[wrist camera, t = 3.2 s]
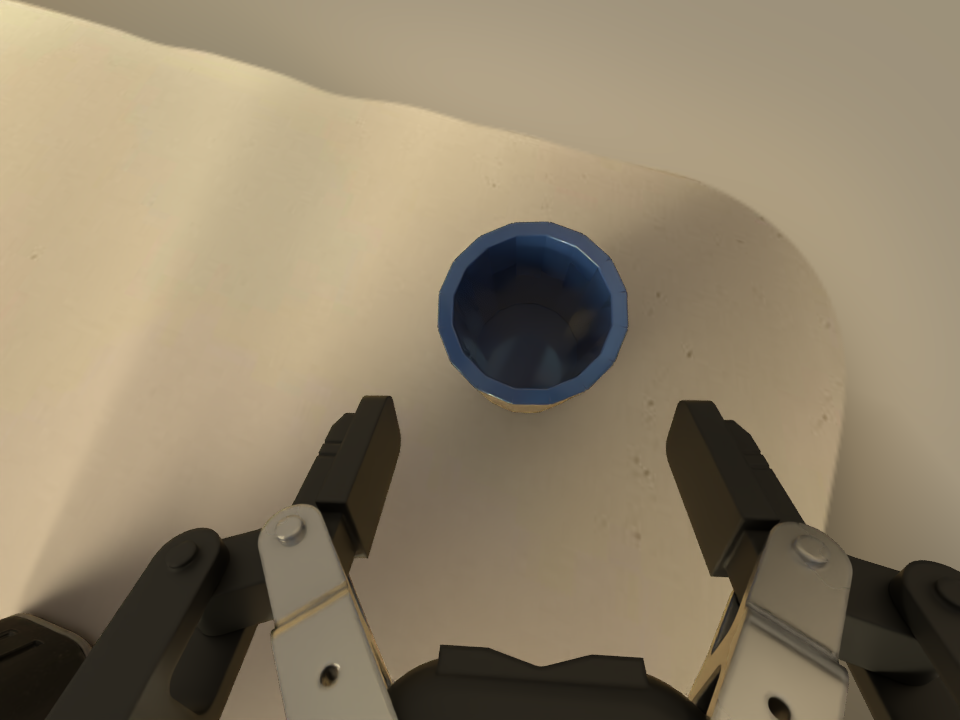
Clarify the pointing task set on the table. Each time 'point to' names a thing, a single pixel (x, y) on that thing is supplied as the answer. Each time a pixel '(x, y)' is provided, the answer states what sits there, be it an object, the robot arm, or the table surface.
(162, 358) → the table surface
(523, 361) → the cup
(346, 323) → the table surface
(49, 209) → the table surface
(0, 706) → the electronic device
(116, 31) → the table surface
